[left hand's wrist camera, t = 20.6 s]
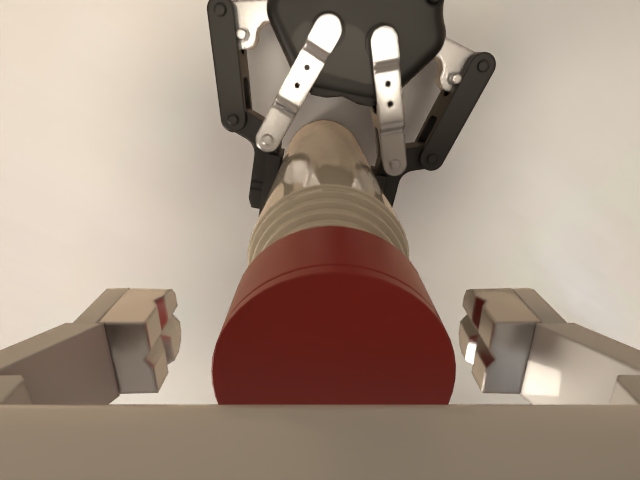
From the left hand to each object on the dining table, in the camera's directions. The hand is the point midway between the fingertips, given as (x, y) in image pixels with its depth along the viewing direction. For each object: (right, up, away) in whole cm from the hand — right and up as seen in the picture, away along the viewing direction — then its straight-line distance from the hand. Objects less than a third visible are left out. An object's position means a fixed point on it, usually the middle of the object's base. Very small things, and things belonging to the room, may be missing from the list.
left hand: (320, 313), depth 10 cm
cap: (0, -1, -2) cm, 2 cm away
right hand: (0, +3, +13) cm, 14 cm away
